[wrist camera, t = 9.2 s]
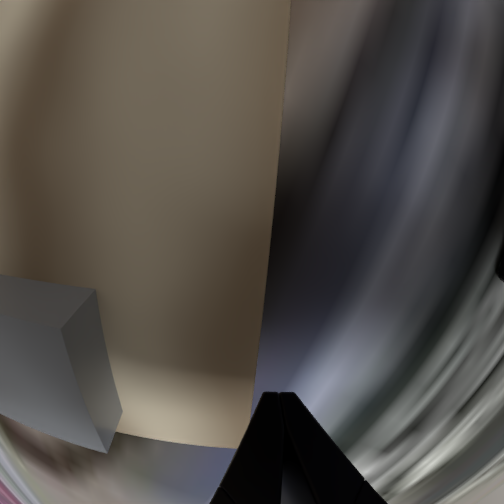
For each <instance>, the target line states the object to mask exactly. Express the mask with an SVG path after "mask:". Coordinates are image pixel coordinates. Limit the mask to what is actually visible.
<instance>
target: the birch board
mask: <svg viewBox="0 0 504 504" xmlns="http://www.w3.org/2000/svg"><path fill="white" fill-rule="evenodd" d="M290 9H291V0H0V274H2V275H7V276H13V277H19V278H25V279H31V280H37V281H43V282H50V283H56V284H63V285H70V286H77V287H84V288H92V289H96V295H97V301H98V307H99V313H100V319H101V324H102V329H103V334H104V339H105V344H106V348H107V353H108V357H109V362H110V366H111V370H112V374H113V378H114V382H115V385H116V389H117V393H118V396H119V400H120V403H121V406H122V410H123V413H122V415H121V418H120V420H119V423H118V426H117V428H116V431H117V432H121V433H125V434H130V435H135V436H140V437H145V438H151V439H156V440H162V441H169V442H175V443H183V444H191V445H200V446H210V447H222V448H238V446H239V444H240V442H241V440H242V438H243V436H244V433H245V431H246V429H247V427H248V425H249V422H250V415H251V407H252V399H253V391H254V383H255V375H256V366H257V358H258V349H259V341H260V332H261V324H262V315H263V306H264V297H265V288H266V279H267V269H268V260H269V250H270V241H271V231H272V221H273V211H274V201H275V191H276V180H277V170H278V159H279V148H280V137H281V125H282V114H283V102H284V89H285V77H286V64H287V51H288V38H289V24H290Z"/></svg>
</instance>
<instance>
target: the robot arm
mask: <svg viewBox="0 0 504 504" xmlns="http://www.w3.org/2000/svg"><path fill="white" fill-rule="evenodd" d="M498 274H499V278H500V280H502V281H503V282H504V254H503V258H502V261H501V265H500V268H499V273H498ZM209 504H388V503H387V502H386V501H385V500H384V499H383V498H382V497H381V496H380V495H379V494H378V493H377V492H376V491H375V490H374V489H373V488H372V486H371V485H370V484H369V483H368V482H367V481H366V480H365V481H364V477H363V476H362V475H361V474H360V473H359V471H358V470H357V469H356V468H355V467H354V465H353V464H352V463H351V462H350V461H349V460H348V458H347V457H346V456H345V455H344V454H343V452H342V451H341V450H340V449H339V447H338V446H337V445H336V444H335V443H334V441H333V440H332V439H331V438H330V436H329V435H328V434H327V433H326V432H325V430H324V429H323V428H322V427H321V425H320V424H319V423H318V422H317V420H316V419H315V418H314V417H313V415H312V414H311V413H310V411H309V410H308V409H307V408H306V406H305V405H304V404H303V403H302V401H301V400H300V399H299V397H298V396H297V395H296V394H295V393H294V392H280V393H278V392H263V394H262V396H261V398H260V400H259V403H258V405H257V407H256V409H255V412H254V414H253V416H252V418H251V420H250V423H249V425H248V427H247V429H246V431H245V433H244V436H243V438H242V440H241V442H240V444H239V446H238V448H237V450H236V452H235V455H234V457H233V459H232V461H231V463H230V465H229V467H228V469H227V471H226V473H225V475H224V477H223V479H222V481H221V483H220V485H219V487H218V488H217V490H216V492H215V494H214V496H213V498H212V500H211V502H210V503H209Z"/></svg>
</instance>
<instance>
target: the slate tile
mask: <svg viewBox="0 0 504 504" xmlns="http://www.w3.org/2000/svg"><path fill="white" fill-rule="evenodd" d="M122 413H123V410H122V406H121V403H120V400H119V396H118V393H117V389H116V385H115V382H114V378H113V374H112V370H111V366H110V362H109V357H108V353H107V348H106V344H105V339H104V334H103V329H102V324H101V319H100V313H99V307H98V301H97V295H96V289H92V288H84V287H77V286H70V285H63V284H56V283H50V282H43V281H37V280H31V279H25V278H19V277H13V276H7V275H2V274H0V414H2V415H4V416H6V417H8V418H11V419H13V420H15V421H17V422H19V423H22V424H24V425H26V426H28V427H31V428H33V429H36V430H38V431H41V432H43V433H46V434H48V435H51V436H54V437H56V438H59V439H62V440H65V441H68V442H71V443H74V444H77V445H80V446H83V447H86V448H89V449H93V450H96V451H100V452H104V453H108V450H109V447H110V444H111V442H112V439H113V436H114V434H115V431H116V428H117V426H118V423H119V420H120V418H121V415H122Z"/></svg>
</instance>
